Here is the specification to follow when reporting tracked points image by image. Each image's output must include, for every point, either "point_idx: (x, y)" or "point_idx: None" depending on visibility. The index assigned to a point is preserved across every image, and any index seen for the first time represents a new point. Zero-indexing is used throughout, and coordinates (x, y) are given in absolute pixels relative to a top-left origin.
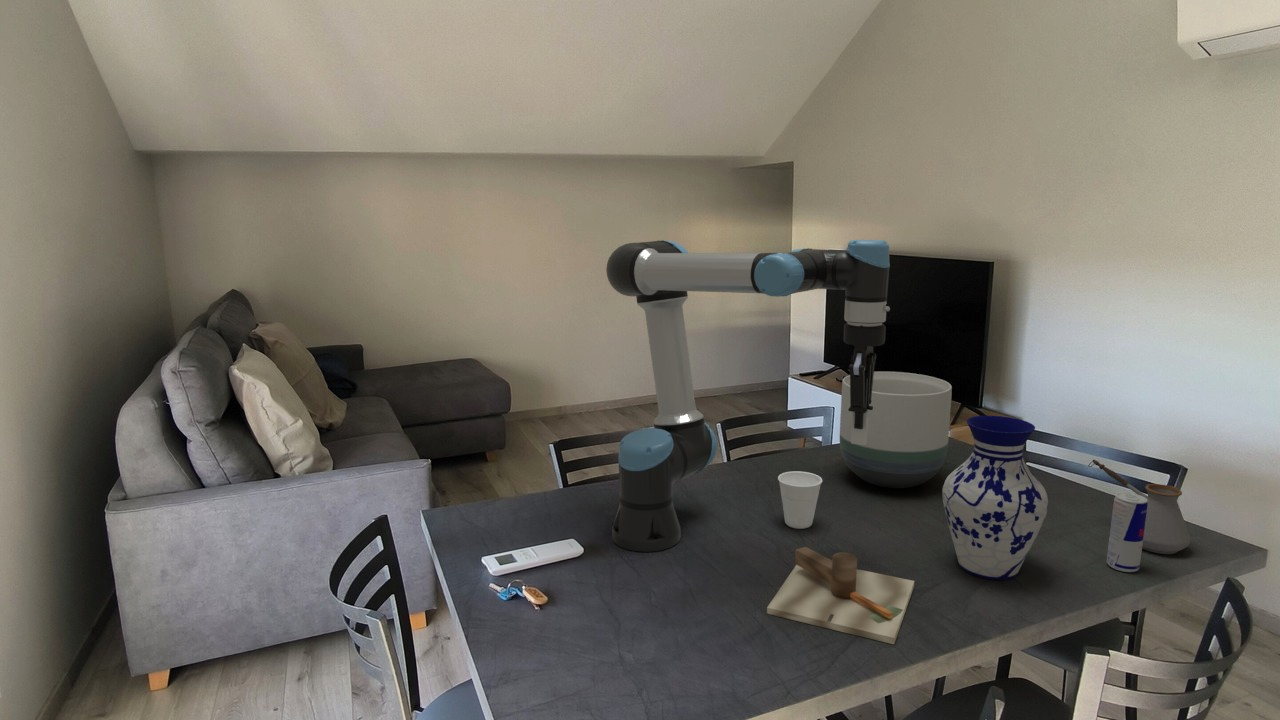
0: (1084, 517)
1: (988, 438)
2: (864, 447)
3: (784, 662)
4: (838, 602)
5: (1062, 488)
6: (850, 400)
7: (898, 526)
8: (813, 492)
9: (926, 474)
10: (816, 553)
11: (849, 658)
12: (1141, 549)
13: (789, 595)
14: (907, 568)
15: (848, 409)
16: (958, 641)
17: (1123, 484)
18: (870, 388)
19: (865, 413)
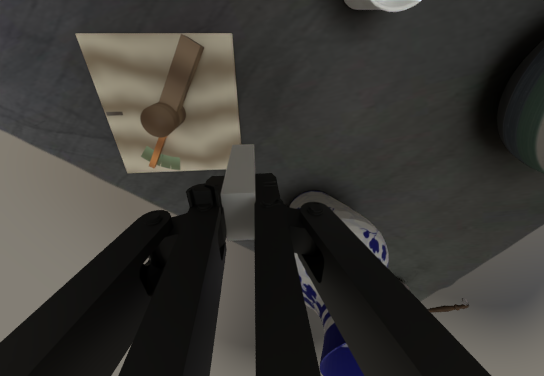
0: (433, 255)
1: (326, 340)
2: None
3: (15, 89)
4: None
5: (500, 240)
6: (99, 253)
7: (383, 125)
8: (367, 2)
9: (506, 147)
10: (188, 69)
11: (78, 143)
12: None
13: (124, 52)
14: (279, 153)
15: (188, 190)
16: (172, 208)
17: (430, 308)
18: (329, 307)
19: (226, 234)
